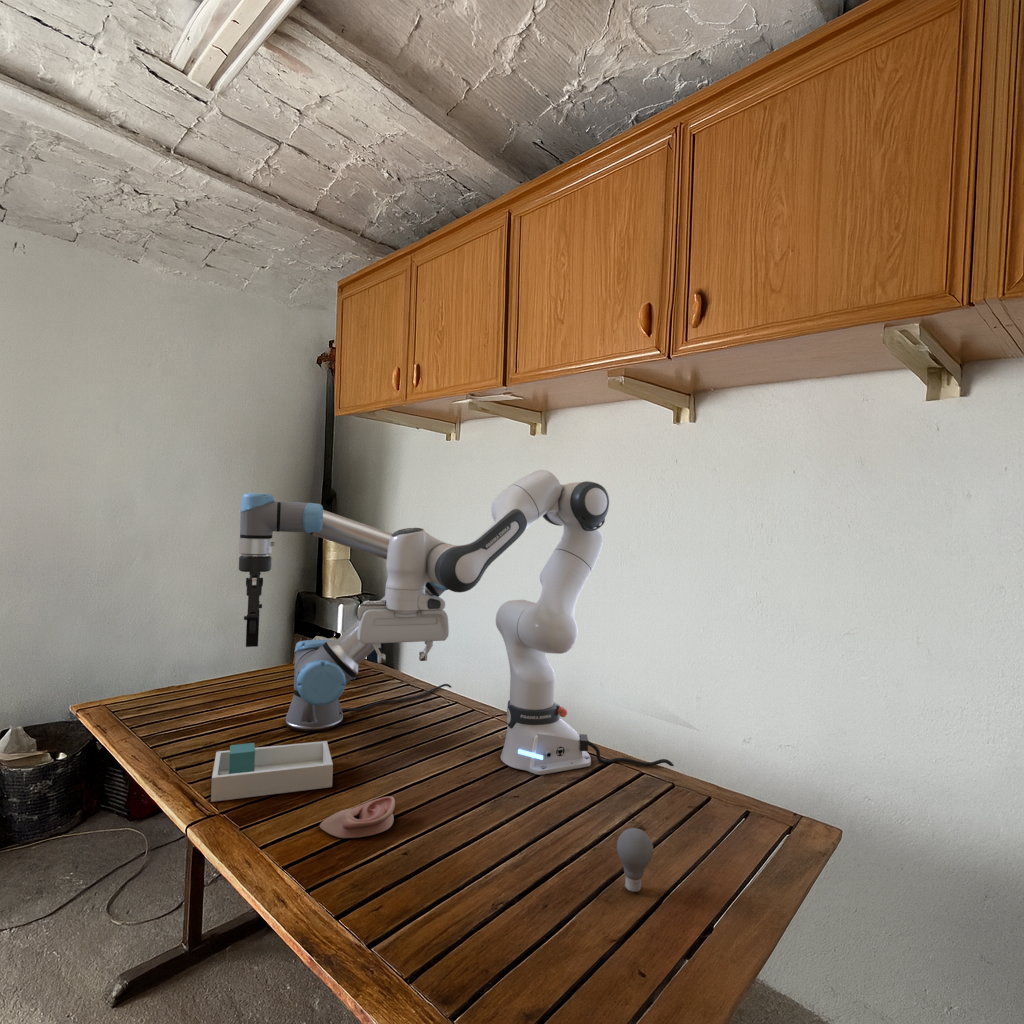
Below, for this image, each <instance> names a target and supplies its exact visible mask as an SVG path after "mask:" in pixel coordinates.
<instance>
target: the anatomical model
mask: <svg viewBox="0 0 1024 1024" xmlns="http://www.w3.org/2000/svg"><path fill="white" fill-rule="evenodd" d="M395 806H396V799H395V797H393V796H392V795H391V796H390V795H389V796H388V795H387V796H383V797H379V798H376V799H372V800H369V801H367V802H365V803H362V804H360V805H358V806H355V807H352V808H346V809H345V808H344V809H342V810H340V811H337V812H335V813H333V814H331V815H329V816H328V817H327V818H325V819H324V820H322V821H321V823H320V824H319V828H320V829H321V830H322V831H324V832H325V833H326V834H329V835H331V836H333V837H335V838H339V839H354V838H355V839H356V838H363V837H369V836H373V835H377V834H381V833H383V832H385V831H387V830H389V829H390V828H391V827H392V826H393V824H394V820H395V817H394V814H393V813H394V810H395Z"/></svg>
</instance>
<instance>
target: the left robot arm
mask: <svg viewBox="0 0 1024 1024" xmlns="http://www.w3.org/2000/svg"><path fill="white" fill-rule="evenodd" d="M240 502H241V505H240V512H239V513H240V514H239V515H240V520H239V539H238V541H239V543H238V553H239V554H240V555H239V557H238V570H239V571H240V572H243V573H249V577H246V578H245V587H246V596H247V614H246V615H244V616H243V621H246V629H245V631H246V632H245V648H253V647H255V648H256V647H257V648H258V647H259V634H260V633H259V632H260V631H259V630H260V609H263V603H261V601H260V597H261V596H262V594H263V593H262V590H263V586H264V577H261V574H262V573H266V572H270V571H271V570H272V558H273V557H272V556H271V554H272V553H273V552H272V551H273V547H274V546H275V545H276V543H275V542H274V541H273V534H274V532H276V533H281V532H283V533H304V534H308V535H311V536H315V537H317V538H320V539H322V540H323V539H324V540H327V541H329V542H333V543H336V544H339V545H341V546H344V547H348V548H351V549H354V550H356V551H360V552H362V553H366V554H368V555H372V556H375V557H377V558H381V559H382V560H383V559H384V560H386V561H387V553H388V545H389V541H390V537H391V535H392V534H393V533H392V532H389V531H386V530H383V529H381V528H377V527H374V526H371V525H369V524H366V523H363V522H360V521H357V520H354V519H351V518H348V517H345V516H342V515H339V514H337V513H334V512H331V511H328V510H325V509H324V507H323V505H322V504H321V503H313V502H304V501H300V500H297V501H291V502H289V501H285V502H283V501H282V502H281V501H275V497H274V494H272V493H260V492H245V493H244V494H243V495H242V496H241V501H240ZM446 591H450V590H449V589H447V588H445V587H444V586H441V585H438V584H436V583H433V582H427V583H426V585H425V592H426V593H429V594H432V595H435V596H438V597H441V595H442V594H443V593H444V592H446ZM382 600H385V595H384V596H383V597H382V598H381V599H380V600H379V601H382ZM358 625H359V619H358V620H357V621H356V622H355V623H354V624H352V625H351V626H350V627H349V628H348V629H347V630H346V631H345V632H344V633H342V634H341V636H339V637H338V638H336V639H337V640H313V639H307V640H300V641H298V642H297V643H295V648H294V649H295V650H294V672H293V673H294V674H293V675H294V676H293V695H292V696H293V697H292V699H291V702H290V704H289V708H288V711H287V713H286V715H285V726H286V728H287V729H289V730H291V731H294V732H295V731H296V732H301V733H316V732H325V731H329V730H332V729H335V728H337V727H339V726H340V725H342V723H343V722H344V714H343V712H358V711H363V710H366V709H369V708H371V707H374V706H377V705H382V704H390V703H391V704H392V703H400V702H405V701H411V700H415V699H419V698H422V697H425V696H427V695H428V694H430V693H432V692H434V691H437V690H439V689H441V688H444V687H448V688H452V685H451V684H448V683H443V684H441V685H438V686H436V687H434V688H431V689H430V690H428V691H426V692H423V693H421V694H418V695H414V696H410V697H405V698H398V699H389V700H380V701H376V702H375V701H374V702H372V703H369V704H368V705H365V706H362V707H356V708H355V707H353V708H352V707H346V708H342V706H341V702H340V699H339V698H340V697H341V696H342V695H343V693H344V691H345V689H346V686H347V684H348V683H349V682H350V681H352V680H353V679H352V678H353V677H354V676H355V675H356V674H357V673H358V674H359V665H360V664H361V663H362V662H363V661H364V660H365V659H366V658H367V657H368V656H369V655H370V654H371V653H372V652H373V651H374V650H375V649H374V647H373V644H362V643H361V642H360V641H359V640H358V638H357V632H358Z"/></svg>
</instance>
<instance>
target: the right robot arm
mask: <svg viewBox="0 0 1024 1024" xmlns="http://www.w3.org/2000/svg"><path fill="white" fill-rule="evenodd" d="M609 508H610V497H609V493H608V491H607V490H606V488H605V487H604V486H603V485H601V484H599V483H598V482H593V481H589V480H586V481H582V482H581V481H578V482H576V481H575V482H569V483H566V484H561V483H560V481H559V479H558V478H557V476H556V475H555V474H553V473H552V472H551V471H549V470H545V469H539V470H535V471H532V472H531V473H528V474H527V475H525V476H522V477H521V478H519V479H518V480H516V481H515V482H513V483H512V484H510V485H509V486H507V487H506V488H505V489H503V490H502V491H501V492H500V493H499V494H498V495H497V496H496V497H495V498H494V499H493V500H492V503H491V508H490V509H491V511H490V512H491V516H492V519H493V521H494V522H493V523H492V525H490V526H489V527H487V529H486V530H484V531H483V532H482V533H481V534H480V535H479V536H477V537H476V538H475V539H474V540H473V541H471V542H469V543H466V544H460V545H456V544H451V543H447V542H444V541H442V540H440V539H438V538H436V537H434V536H432V535H430V534H429V533H428V532H427V531H426V529H424V528H421V527H407V528H401V529H398V530H396V531H394V532H393V533H392V535H391V537H390V541H389V545H388V553H387V560H386V571H387V580H386V582H385V589H384V590H385V592H384V593H385V594H384V596H385V600H382V601H380V600H364V602H362V603H360V604H359V605H358V607H357V611H356V613H357V614H356V616H357V619H358V620H359V625H358V632H357V638H358V640H359V641H360V642H361V643H362V644H373V647H374V650H375V652H376V655H377V663H378V664H385V663H386V659H387V658H386V657H387V655H386V654H385V653H382V652H381V650H380V649H381V648H382V644H395V643H418V642H423V643H424V645H425V647H424V648H423V650H422V651H419V652H418V655H419V656H418V660H419V661H420V662H427V661H428V654H429V653H430V651H431V649H432V648H433V646H434V642H444V641H446V640H447V639H448V638H449V634H450V626H449V617H448V614H447V612H446V610H444V609H445V608H446V600H444V599H443V598H442V597H441V596H439V597H438V596H435V595H432V594H429V593H426V592H425V585H426V583H427V582H433V583H436V584H438V585H441V586H444V587H445V588H447V589H449V590H448V591H450V592H454V593H465V592H468V591H470V590H472V589H473V588H475V587H476V586H477V584H478V583H479V582H480V581H481V579H482V578H483V575H484V574H485V573H486V571H487V569H488V568H489V566H491V564H492V563H493V562H495V560H496V559H498V558H499V557H500V556H501V555H502V554H503V553H504V552H505V551H506V550H507V549H509V547H511V546H512V545H513V544H514V543H515V542H516V541H517V540H518V539H519V538H520V537H521V536H522V535H523V534H524V533H525V531H526V530H527V529H528V528H530V527H531V526H532V525H533V524H535V523H536V522H538V521H539V520H540V519H541V518H543V519H544V520H545V521H546V522H548V523H549V524H551V525H554V526H558V527H562V526H563V530H562V531H563V532H562V536H561V538H560V541H559V542H558V544H557V545H556V547H555V548H554V550H553V551H552V553H551V555H550V556H549V558H548V560H547V561H546V563H545V564H544V566H543V568H542V570H541V571H540V574H539V582H540V584H541V587H542V588H541V592H540V595H539V598H538V600H537V602H535V601H530V600H527V599H512V600H507V601H505V602H504V603H502V604H501V605H500V606H499V608H498V609H497V611H496V614H495V625H496V629H497V631H498V632H499V634H500V635H501V637H502V640H503V643H504V646H505V651H506V655H507V659H508V665H509V679H510V680H509V700H508V701H507V708H506V724H507V728H506V733H505V739H504V744H503V747H502V751H501V753H500V761H501V762H502V763H503V764H505V765H506V766H508V767H511V768H514V769H517V770H520V771H526V772H529V773H531V774H534V775H538V776H543V775H547V774H548V775H549V774H554V773H559V772H565V771H572V770H577V769H582V768H587V767H590V766H591V765H592V758H591V755H590V754H589V753H588V752H589V747H590V748H592V749H593V750H594V751H595V754H596V759H597V761H598V762H600V763H601V764H612V763H619V762H622V763H624V762H625V763H629V764H633V765H637V766H642V767H654V766H658V765H661V764H667V766H670V767H675V765H674V764H673V762H672V761H670V760H669V759H666V758H660V759H657V760H654V761H650V762H649V761H641V760H637V759H632V758H627V757H614V758H611V759H605V758H604V759H603V758H602V757H601V751H600V749H599V747H598V746H597V745H596V744H594V743H593V742H591V740H590V741H589V738H588V734H585V733H583V734H582V733H579V732H577V730H576V729H574V727H573V726H571V725H570V724H569V723H568V722H567V721H565V720H564V719H562V718H565V717H566V716H567V715H568V711H567V708H564V706H561V705H560V704H558V703H556V702H555V685H556V673H555V671H554V668H553V667H552V665H551V663H550V661H549V659H548V657H547V654H553V655H557V654H558V655H559V654H565V653H567V652H569V651H570V650H571V649H572V648H573V647H574V645H575V644H576V642H577V639H578V635H579V628H578V624H577V621H576V618H575V612H576V605H577V601H578V598H579V596H580V594H581V592H582V590H583V588H584V586H585V584H586V582H587V581H588V578H589V577H590V575H591V573H592V571H593V569H594V568H595V566H596V564H597V561H598V559H599V557H600V554H601V552H602V549H603V545H604V535H603V533H602V532H601V530H600V528H601V527H603V525H604V524H605V522H606V517H607V515H608V512H609Z"/></svg>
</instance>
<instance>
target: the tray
mask: <svg viewBox="0 0 1024 1024" xmlns="http://www.w3.org/2000/svg"><path fill="white" fill-rule="evenodd" d="M332 759H333V758H332V756H331V751H330V748H329V744H328V741H327V740H321V741H312V742H301V743H291V744H282V745H281V744H280V745H271V746H261V747H255V770H254V771H253V772H244V773H235V774H229V761H230V749H229V750H219V751H216V753H215V757H214V763H213V768H212V774H211V787H210V788H211V790H210V791H211V792H210V793H211V794H210V802H211V803H213V802H221V801H230V800H237V799H246V798H255V797H262V796H270V795H278V794H287V793H295V792H302V791H310V790H318V789H327V788H332V787H333V778H334V777H333V774H334V763H333V760H332Z"/></svg>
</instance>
